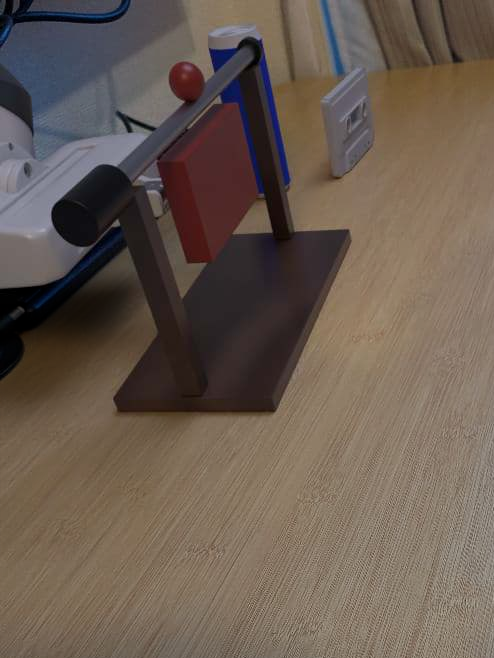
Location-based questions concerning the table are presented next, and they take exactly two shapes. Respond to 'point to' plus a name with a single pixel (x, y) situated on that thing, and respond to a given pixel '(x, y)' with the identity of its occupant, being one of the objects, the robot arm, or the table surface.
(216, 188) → the foosball rod
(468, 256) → the table surface
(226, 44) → the beverage can
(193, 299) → the rod stand
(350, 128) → the cassette
